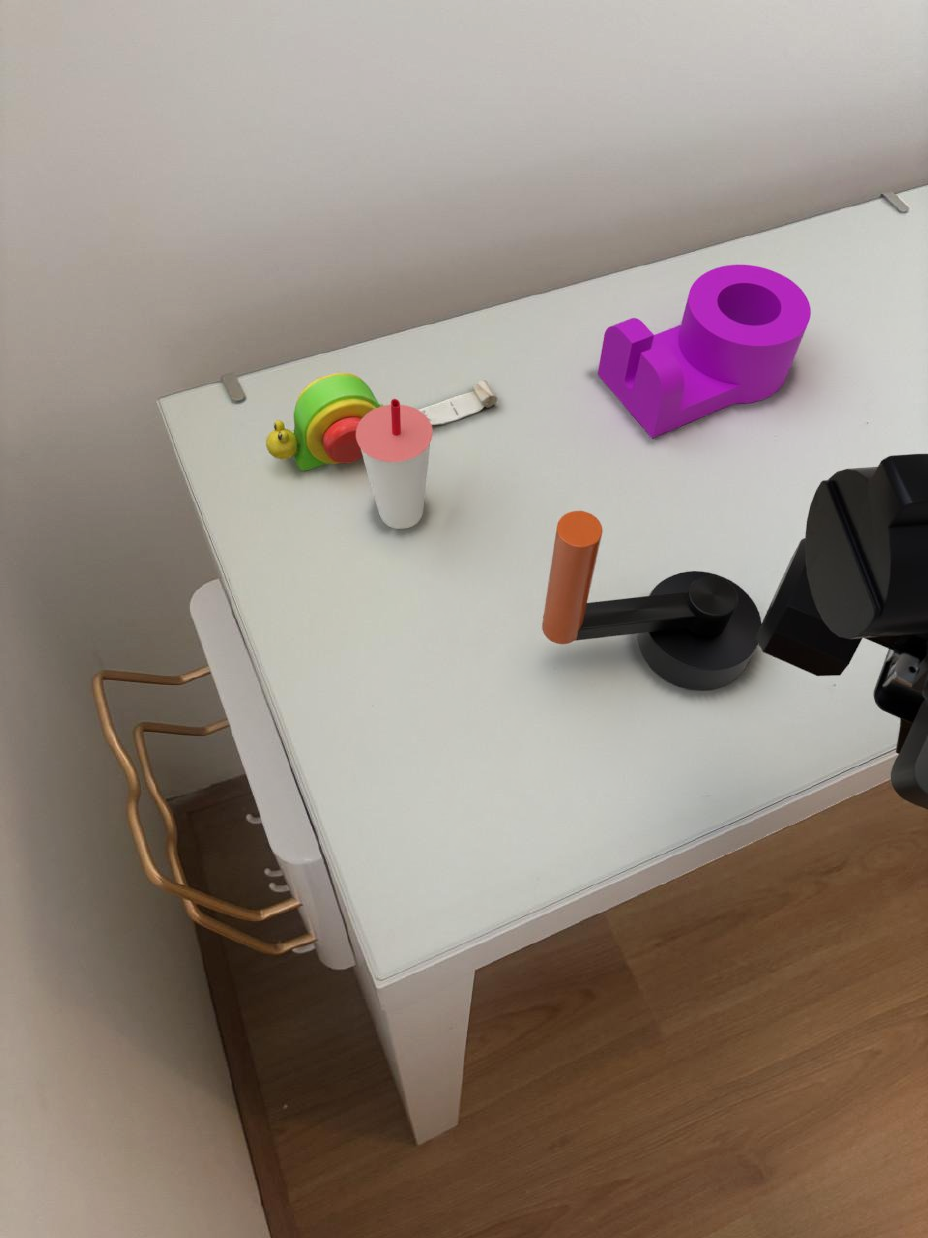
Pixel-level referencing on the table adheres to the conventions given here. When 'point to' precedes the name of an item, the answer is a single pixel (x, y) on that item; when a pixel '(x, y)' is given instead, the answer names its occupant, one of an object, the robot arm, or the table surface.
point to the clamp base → (702, 642)
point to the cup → (396, 461)
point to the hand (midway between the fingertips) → (905, 748)
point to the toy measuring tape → (350, 419)
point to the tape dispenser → (708, 349)
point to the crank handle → (580, 620)
